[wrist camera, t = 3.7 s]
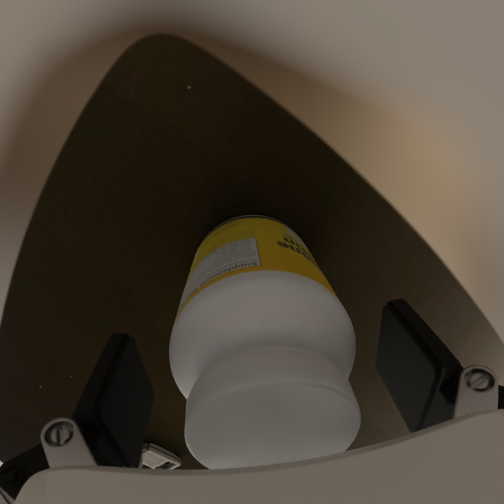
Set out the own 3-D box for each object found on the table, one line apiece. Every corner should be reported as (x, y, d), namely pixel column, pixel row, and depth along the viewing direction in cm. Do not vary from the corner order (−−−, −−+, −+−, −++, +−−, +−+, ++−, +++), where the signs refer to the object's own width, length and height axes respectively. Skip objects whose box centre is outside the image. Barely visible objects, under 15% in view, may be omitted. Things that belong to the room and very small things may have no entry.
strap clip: (184, 457, 24) (180, 494, 20) (165, 466, 25) (161, 501, 21) (104, 412, 22) (91, 450, 18) (90, 425, 23) (77, 460, 19)
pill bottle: (310, 308, 19) (376, 471, 8) (205, 323, 19) (188, 498, 8) (303, 203, 17) (413, 321, 6) (183, 220, 17) (109, 364, 6)
